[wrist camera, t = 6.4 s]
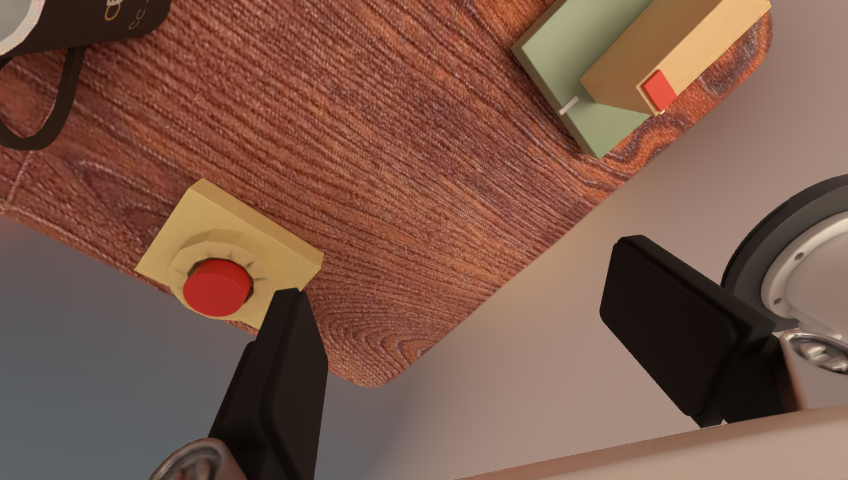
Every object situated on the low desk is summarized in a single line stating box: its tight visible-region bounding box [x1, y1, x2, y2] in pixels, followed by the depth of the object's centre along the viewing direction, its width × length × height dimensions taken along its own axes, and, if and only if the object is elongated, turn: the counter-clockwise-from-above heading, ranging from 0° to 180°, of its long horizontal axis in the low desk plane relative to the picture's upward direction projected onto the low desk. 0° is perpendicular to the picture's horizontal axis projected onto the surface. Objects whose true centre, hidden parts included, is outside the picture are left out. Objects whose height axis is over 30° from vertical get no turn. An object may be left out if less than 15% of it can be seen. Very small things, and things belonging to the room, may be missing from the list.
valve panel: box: [510, 0, 726, 160], centre depth 22 cm, size 11×11×2 cm
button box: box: [135, 178, 324, 330], centre depth 25 cm, size 10×8×4 cm
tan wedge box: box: [579, 0, 771, 116], centre depth 19 cm, size 6×2×6 cm, turn 139°
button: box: [183, 259, 251, 317], centre depth 23 cm, size 4×4×2 cm
